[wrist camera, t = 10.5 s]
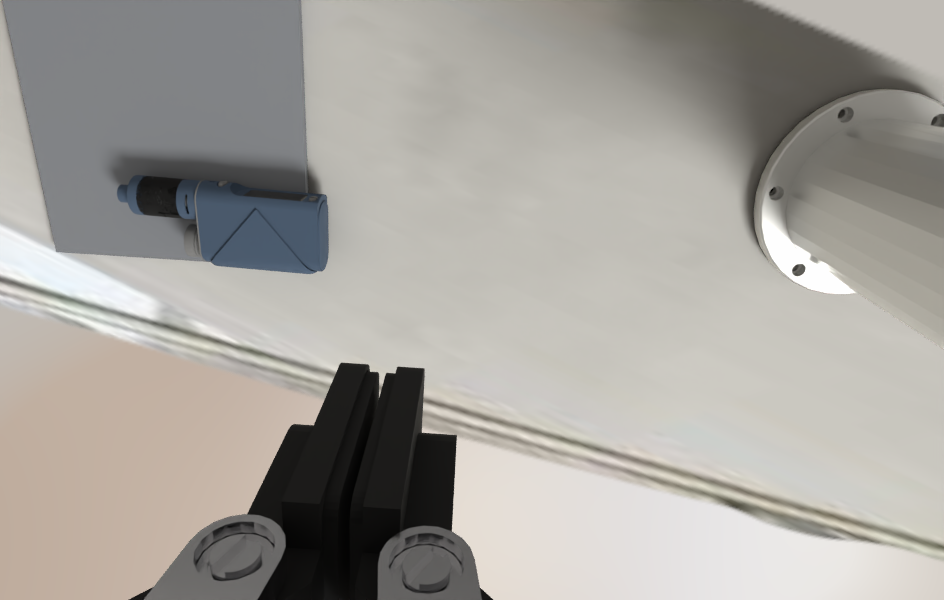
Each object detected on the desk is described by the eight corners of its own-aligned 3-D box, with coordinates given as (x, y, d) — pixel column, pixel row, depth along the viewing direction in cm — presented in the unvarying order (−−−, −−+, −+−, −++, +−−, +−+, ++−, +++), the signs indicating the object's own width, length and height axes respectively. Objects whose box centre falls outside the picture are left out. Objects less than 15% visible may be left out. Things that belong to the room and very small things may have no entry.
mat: (300, -9, 33) (297, -10, 32) (311, 264, 39) (308, 268, 39) (3, -33, 32) (-5, -34, 32) (62, 248, 39) (56, 251, 38)
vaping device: (317, 196, 34) (105, 177, 34) (319, 281, 36) (119, 263, 36) (328, 185, 37) (130, 167, 36) (329, 266, 39) (142, 249, 38)
